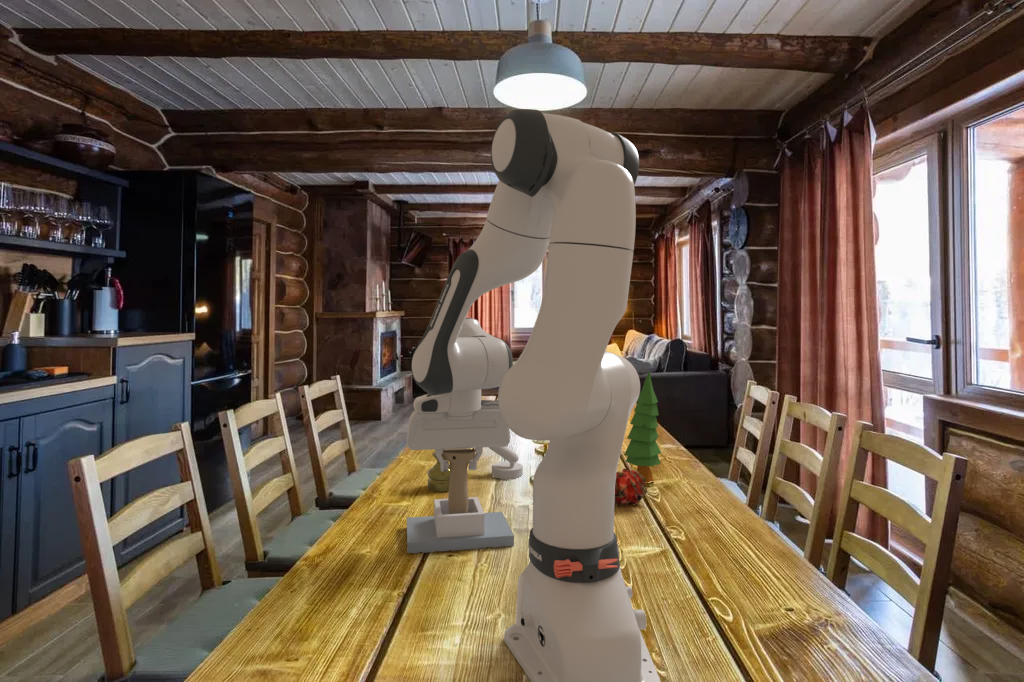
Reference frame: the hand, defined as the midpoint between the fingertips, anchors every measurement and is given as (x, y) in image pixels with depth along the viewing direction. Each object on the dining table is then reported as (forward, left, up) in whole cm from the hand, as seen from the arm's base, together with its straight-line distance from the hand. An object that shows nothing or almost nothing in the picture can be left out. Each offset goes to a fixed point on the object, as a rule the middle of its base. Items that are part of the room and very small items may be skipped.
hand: (458, 470), depth 108 cm
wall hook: (+40, -17, -14) cm, 46 cm away
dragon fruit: (+12, -41, -14) cm, 45 cm away
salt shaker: (+31, +1, -14) cm, 34 cm away
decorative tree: (+28, -52, -14) cm, 61 cm away
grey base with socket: (0, 0, -13) cm, 13 cm away
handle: (0, 0, -11) cm, 11 cm away
